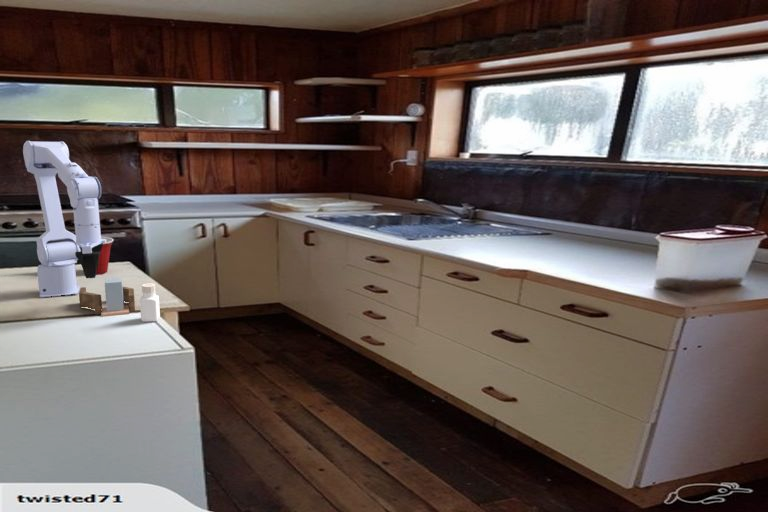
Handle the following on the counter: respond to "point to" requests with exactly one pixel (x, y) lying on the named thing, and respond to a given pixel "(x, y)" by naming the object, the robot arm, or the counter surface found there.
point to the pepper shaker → (149, 303)
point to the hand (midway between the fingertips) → (91, 274)
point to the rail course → (96, 303)
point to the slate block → (114, 294)
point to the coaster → (125, 311)
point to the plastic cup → (104, 256)
